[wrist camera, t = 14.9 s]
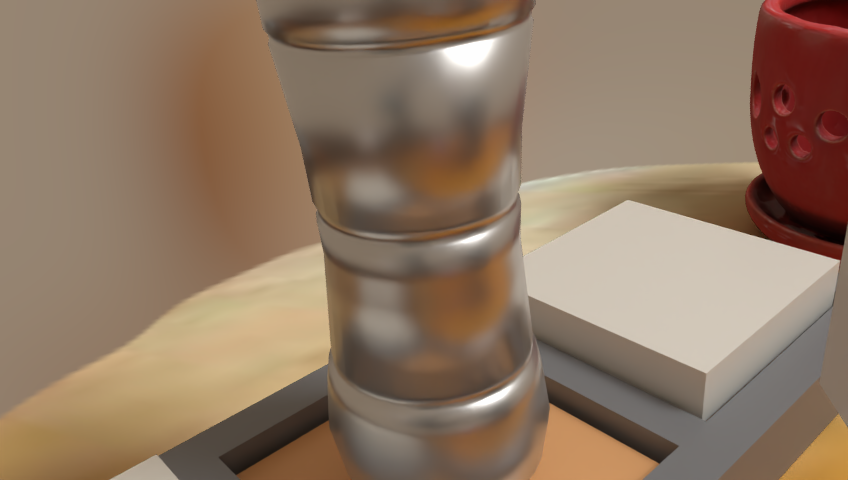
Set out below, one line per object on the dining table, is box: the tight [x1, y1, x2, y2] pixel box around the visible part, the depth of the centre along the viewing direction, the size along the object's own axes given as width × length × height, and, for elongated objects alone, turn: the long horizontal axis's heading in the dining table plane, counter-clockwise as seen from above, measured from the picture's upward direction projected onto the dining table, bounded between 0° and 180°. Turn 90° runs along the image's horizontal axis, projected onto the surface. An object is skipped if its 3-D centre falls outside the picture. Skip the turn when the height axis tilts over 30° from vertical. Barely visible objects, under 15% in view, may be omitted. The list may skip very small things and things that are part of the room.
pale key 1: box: [523, 200, 840, 421], centre depth 29 cm, size 9×9×2 cm
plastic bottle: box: [256, 0, 550, 480], centre depth 19 cm, size 6×7×20 cm
